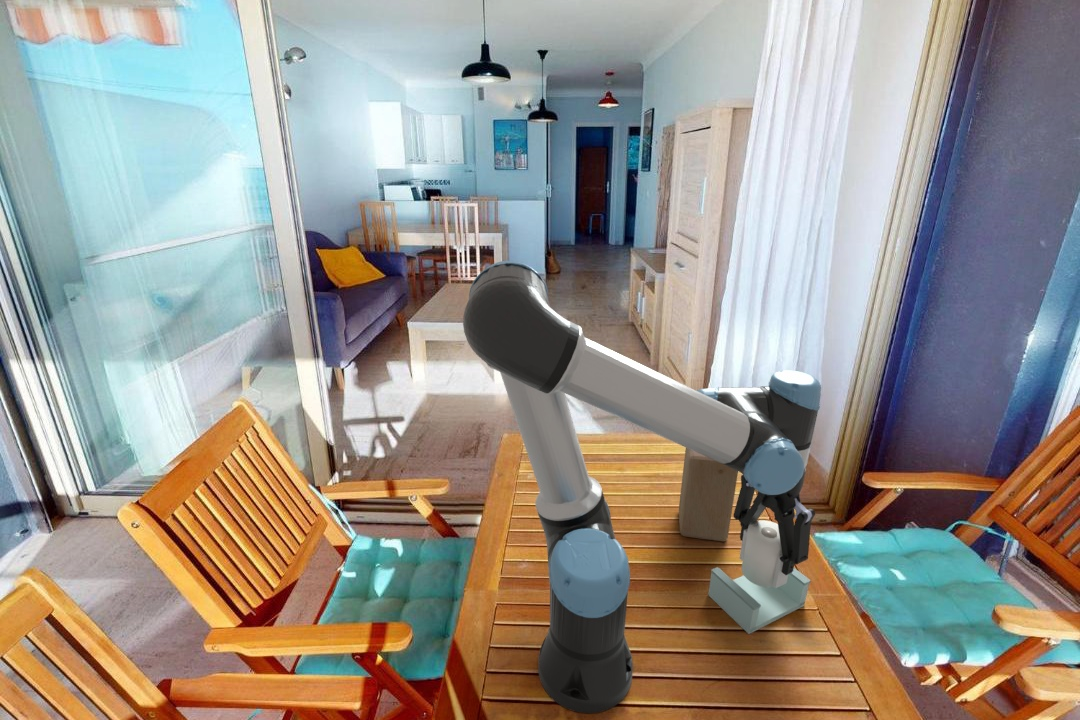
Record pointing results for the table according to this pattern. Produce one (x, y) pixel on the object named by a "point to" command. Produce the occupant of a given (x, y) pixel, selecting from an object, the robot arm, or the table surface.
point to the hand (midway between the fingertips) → (762, 570)
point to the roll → (761, 552)
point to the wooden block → (706, 497)
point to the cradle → (757, 598)
